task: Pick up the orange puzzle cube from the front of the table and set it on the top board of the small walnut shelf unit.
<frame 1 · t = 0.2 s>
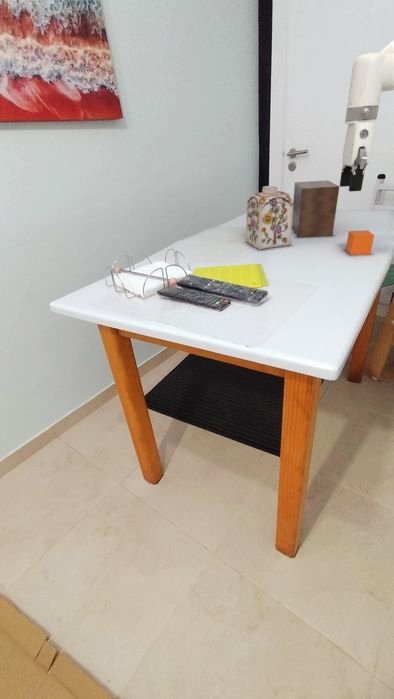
hand: (349, 188, 96), 17 cm above the table, tool pointing down, fingers open, 9 cm apart
decorative jar: (267, 244, 117), on the table
shelf: (310, 230, 127), on the table
cube: (357, 251, 102), on the table
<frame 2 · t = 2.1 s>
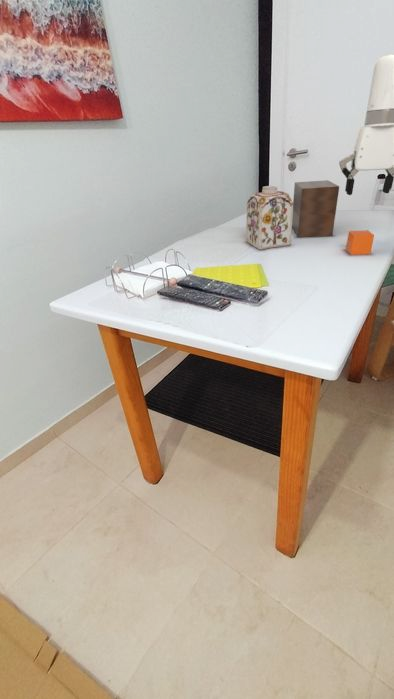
hand: (367, 193, 94), 16 cm above the table, tool pointing down, fingers open, 9 cm apart
nothing on the table moved.
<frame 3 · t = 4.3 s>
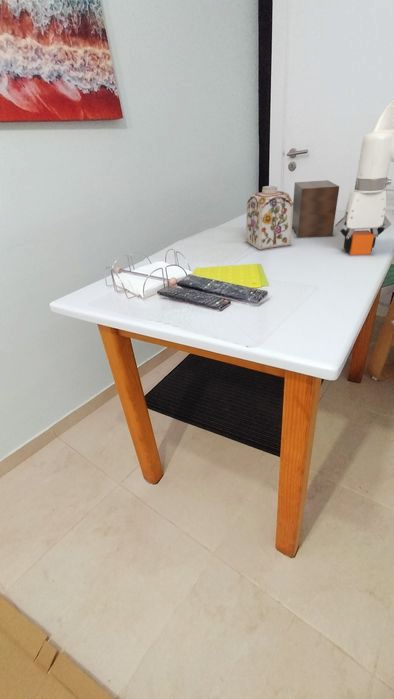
hand: (357, 250, 102), 1 cm above the table, tool pointing down, fingers closed on cube, 5 cm apart
cube: (357, 251, 102), on the table, touching gripper
everything else where it was.
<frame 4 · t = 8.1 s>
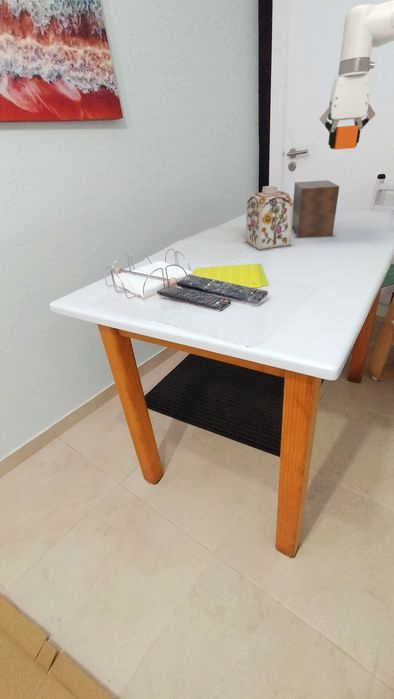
hand: (342, 146, 101), 28 cm above the table, tool pointing down, fingers closed on cube, 5 cm apart
cube: (342, 148, 101), point 27 cm above the table, touching gripper
everything else where it was.
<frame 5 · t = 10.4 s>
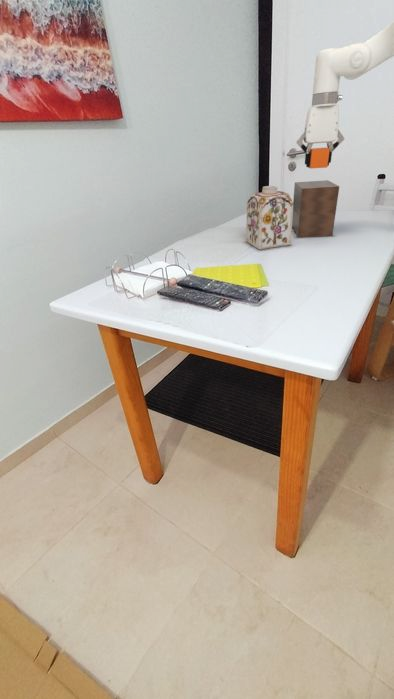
hand: (317, 165, 115), 22 cm above the table, tool pointing down, fingers closed on cube, 5 cm apart
cube: (317, 167, 116), point 21 cm above the table, touching gripper
everything else where it was.
when the fingers open (17 cm above the table, at t = 12.1 s): cube stays where it is, resting on shelf.
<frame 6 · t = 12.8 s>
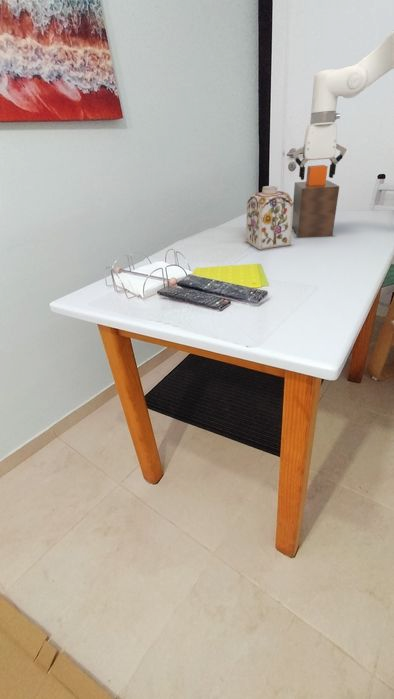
hand: (316, 178, 117), 18 cm above the table, tool pointing down, fingers open, 9 cm apart
cube: (315, 184, 118), point 16 cm above the table, touching shelf
everything else where it was.
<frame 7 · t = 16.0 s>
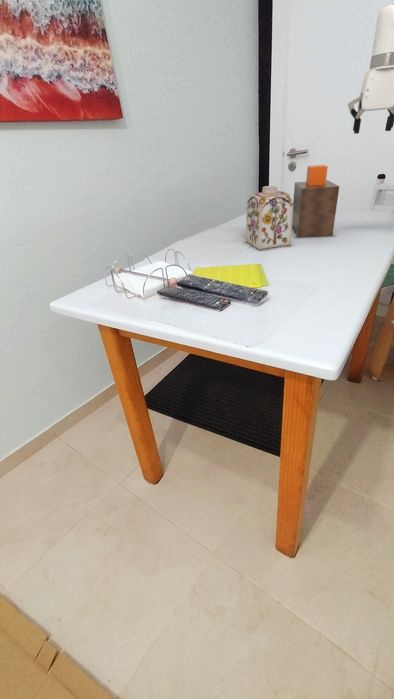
hand: (371, 132, 109), 30 cm above the table, tool pointing down, fingers open, 9 cm apart
nothing on the table moved.
at the end: cube inside the target area on the shelf (0.1 cm from its centre), point 16.0 cm above the shelf's base; cube tilted 0°; the gripper is holding nothing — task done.
